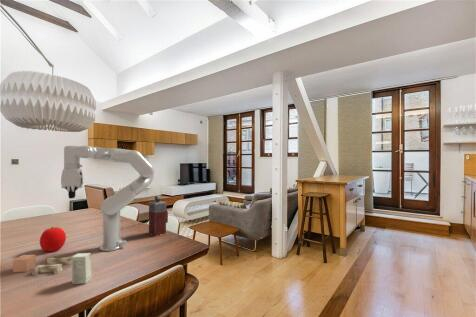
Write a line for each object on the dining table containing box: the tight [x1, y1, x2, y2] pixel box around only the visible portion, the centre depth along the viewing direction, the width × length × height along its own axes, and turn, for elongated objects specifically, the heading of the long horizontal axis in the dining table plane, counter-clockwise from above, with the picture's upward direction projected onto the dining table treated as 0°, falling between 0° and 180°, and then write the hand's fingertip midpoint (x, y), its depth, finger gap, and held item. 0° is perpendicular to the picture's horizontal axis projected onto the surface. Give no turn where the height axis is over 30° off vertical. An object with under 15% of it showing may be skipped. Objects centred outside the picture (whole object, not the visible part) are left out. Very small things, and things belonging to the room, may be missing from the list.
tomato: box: [39, 226, 67, 252], centre depth 141 cm, size 13×11×14 cm
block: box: [12, 254, 36, 273], centre depth 117 cm, size 6×6×6 cm
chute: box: [31, 254, 75, 276], centre depth 119 cm, size 11×14×3 cm
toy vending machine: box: [148, 195, 169, 237], centre depth 172 cm, size 9×11×28 cm
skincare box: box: [71, 252, 92, 285], centre depth 106 cm, size 6×4×12 cm
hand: (71, 198), depth 137 cm, fingers closed
